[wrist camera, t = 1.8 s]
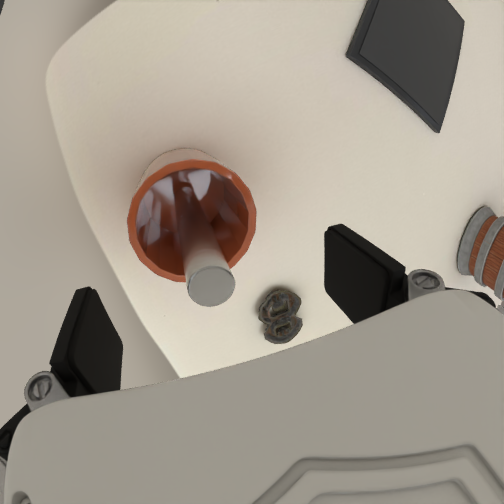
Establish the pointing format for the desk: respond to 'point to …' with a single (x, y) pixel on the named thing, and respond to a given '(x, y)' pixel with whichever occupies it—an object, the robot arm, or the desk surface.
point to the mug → (484, 250)
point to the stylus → (201, 253)
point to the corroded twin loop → (281, 316)
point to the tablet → (411, 52)
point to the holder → (212, 202)
